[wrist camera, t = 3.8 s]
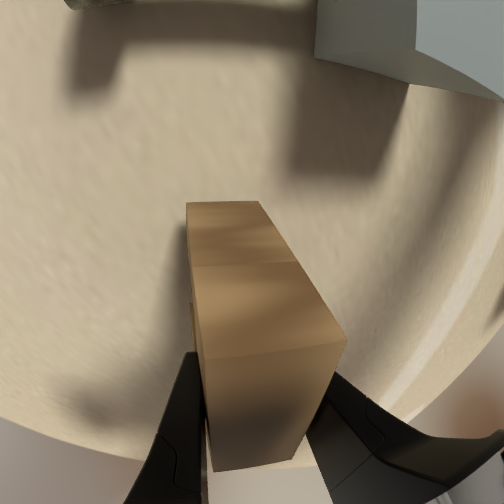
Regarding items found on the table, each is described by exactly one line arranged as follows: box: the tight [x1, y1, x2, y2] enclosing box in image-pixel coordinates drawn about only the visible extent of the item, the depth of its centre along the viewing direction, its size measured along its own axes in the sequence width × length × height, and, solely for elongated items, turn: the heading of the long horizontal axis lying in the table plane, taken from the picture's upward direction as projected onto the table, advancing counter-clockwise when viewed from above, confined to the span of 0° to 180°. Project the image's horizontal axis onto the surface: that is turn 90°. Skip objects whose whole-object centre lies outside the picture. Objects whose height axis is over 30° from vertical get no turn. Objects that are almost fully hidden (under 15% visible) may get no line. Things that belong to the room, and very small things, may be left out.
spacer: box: [186, 201, 348, 472], centre depth 11 cm, size 3×7×8 cm, turn 175°
